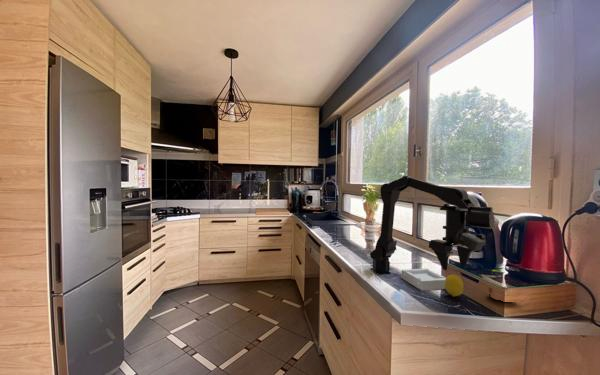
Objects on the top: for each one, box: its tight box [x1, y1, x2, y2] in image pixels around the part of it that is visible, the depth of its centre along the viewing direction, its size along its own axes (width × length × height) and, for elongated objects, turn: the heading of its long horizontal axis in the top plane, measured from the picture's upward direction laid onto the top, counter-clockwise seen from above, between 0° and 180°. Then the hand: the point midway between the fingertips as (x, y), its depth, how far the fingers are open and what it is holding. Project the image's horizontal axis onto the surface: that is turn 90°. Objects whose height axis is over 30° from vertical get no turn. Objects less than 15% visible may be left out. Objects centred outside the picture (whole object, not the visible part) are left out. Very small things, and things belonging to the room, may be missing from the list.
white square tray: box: [401, 268, 447, 291], centre depth 93 cm, size 12×12×4 cm
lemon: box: [445, 273, 464, 298], centre depth 82 cm, size 6×6×8 cm
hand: (454, 268), depth 82 cm, fingers open, 9 cm apart
